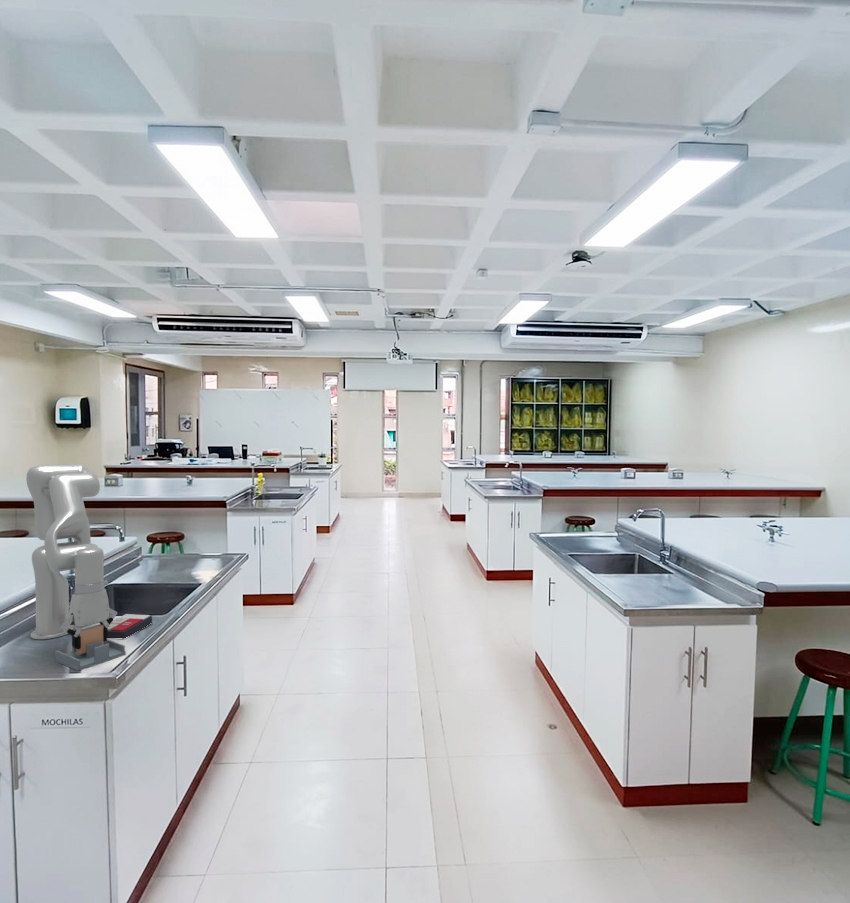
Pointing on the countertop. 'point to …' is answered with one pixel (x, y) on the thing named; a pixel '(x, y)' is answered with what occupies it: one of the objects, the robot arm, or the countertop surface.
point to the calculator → (128, 625)
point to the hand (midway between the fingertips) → (90, 643)
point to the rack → (91, 655)
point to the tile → (90, 637)
